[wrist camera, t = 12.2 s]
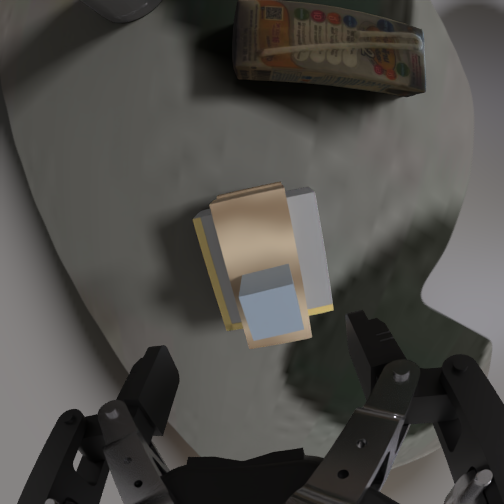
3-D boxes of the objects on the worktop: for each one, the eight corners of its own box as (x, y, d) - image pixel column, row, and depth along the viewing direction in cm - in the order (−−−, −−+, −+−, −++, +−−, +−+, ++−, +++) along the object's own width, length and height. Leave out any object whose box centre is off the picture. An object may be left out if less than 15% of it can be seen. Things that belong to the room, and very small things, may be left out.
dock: (200, 210, 33) (192, 219, 29) (308, 186, 32) (314, 191, 28) (230, 312, 37) (226, 331, 33) (326, 293, 36) (333, 310, 32)
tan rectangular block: (218, 195, 29) (209, 204, 24) (280, 181, 28) (284, 187, 23) (251, 321, 33) (249, 349, 28) (305, 311, 32) (312, 337, 28)
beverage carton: (404, 102, 28) (432, 95, 22) (234, 83, 29) (227, 68, 23) (402, 41, 26) (427, 25, 20) (237, 20, 26) (231, -5, 20)
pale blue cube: (242, 275, 26) (238, 297, 22) (288, 263, 25) (293, 283, 21) (254, 315, 27) (253, 340, 23) (298, 304, 26) (304, 329, 23)
